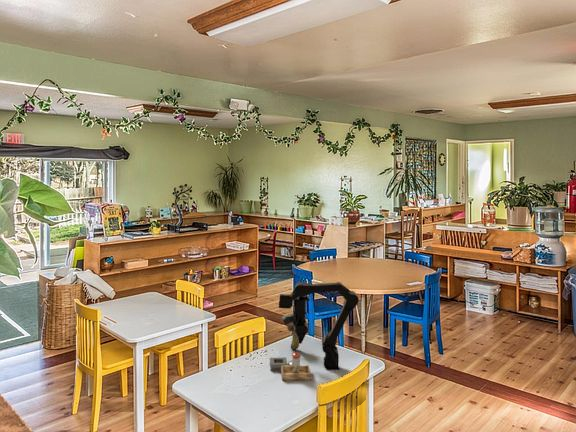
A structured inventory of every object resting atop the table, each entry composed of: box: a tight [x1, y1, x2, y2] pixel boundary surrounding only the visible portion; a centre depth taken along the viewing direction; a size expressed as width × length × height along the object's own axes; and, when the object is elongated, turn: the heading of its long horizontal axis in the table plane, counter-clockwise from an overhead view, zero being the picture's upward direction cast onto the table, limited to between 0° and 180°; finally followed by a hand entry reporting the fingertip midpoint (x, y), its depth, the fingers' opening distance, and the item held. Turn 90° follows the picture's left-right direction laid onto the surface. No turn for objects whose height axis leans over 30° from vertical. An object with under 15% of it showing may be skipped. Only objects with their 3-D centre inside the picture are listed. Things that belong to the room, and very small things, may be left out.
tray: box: [280, 364, 312, 382], centre depth 206 cm, size 13×9×3 cm
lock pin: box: [291, 351, 301, 374], centre depth 206 cm, size 4×4×10 cm
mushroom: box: [286, 322, 300, 351], centre depth 236 cm, size 9×9×15 cm
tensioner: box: [269, 357, 292, 372], centre depth 215 cm, size 14×8×3 cm, turn 95°
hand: (299, 340), depth 216 cm, fingers open, 9 cm apart
